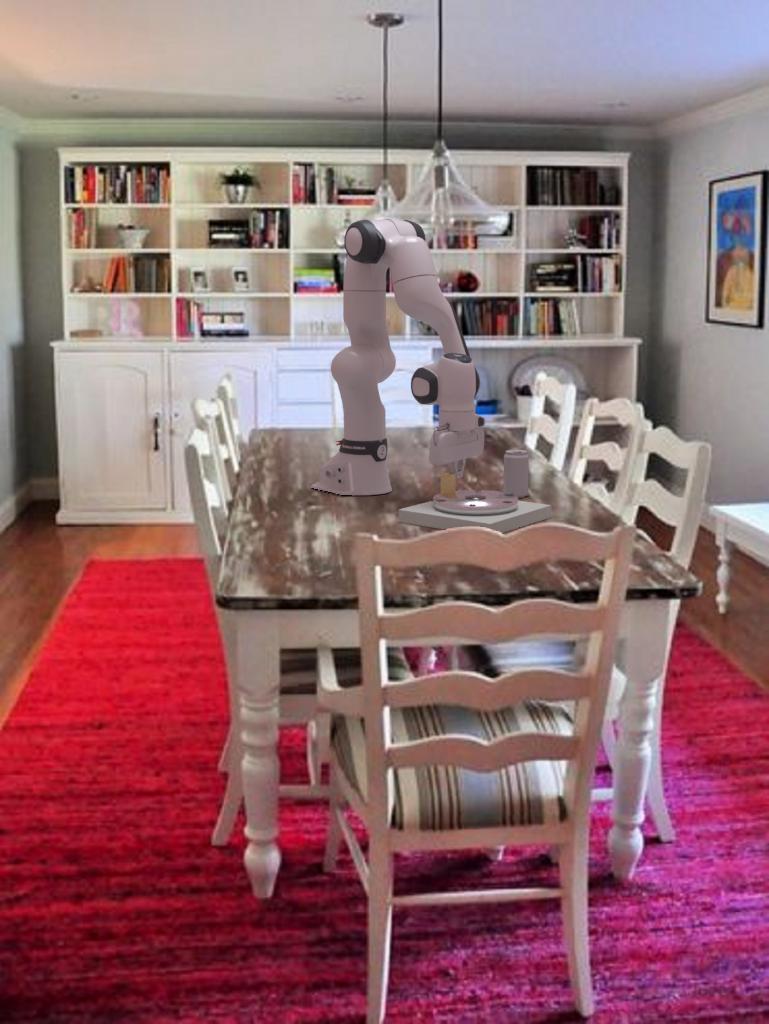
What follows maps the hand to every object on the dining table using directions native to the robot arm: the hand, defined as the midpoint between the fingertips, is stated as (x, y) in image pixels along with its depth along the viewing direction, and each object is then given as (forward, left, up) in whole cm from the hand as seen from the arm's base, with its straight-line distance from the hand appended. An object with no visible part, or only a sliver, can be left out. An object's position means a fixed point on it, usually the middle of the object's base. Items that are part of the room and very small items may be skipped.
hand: (456, 478), depth 294 cm
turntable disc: (+9, -4, -5) cm, 11 cm away
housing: (+9, -4, -9) cm, 13 cm away
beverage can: (+1, +26, -9) cm, 27 cm away
